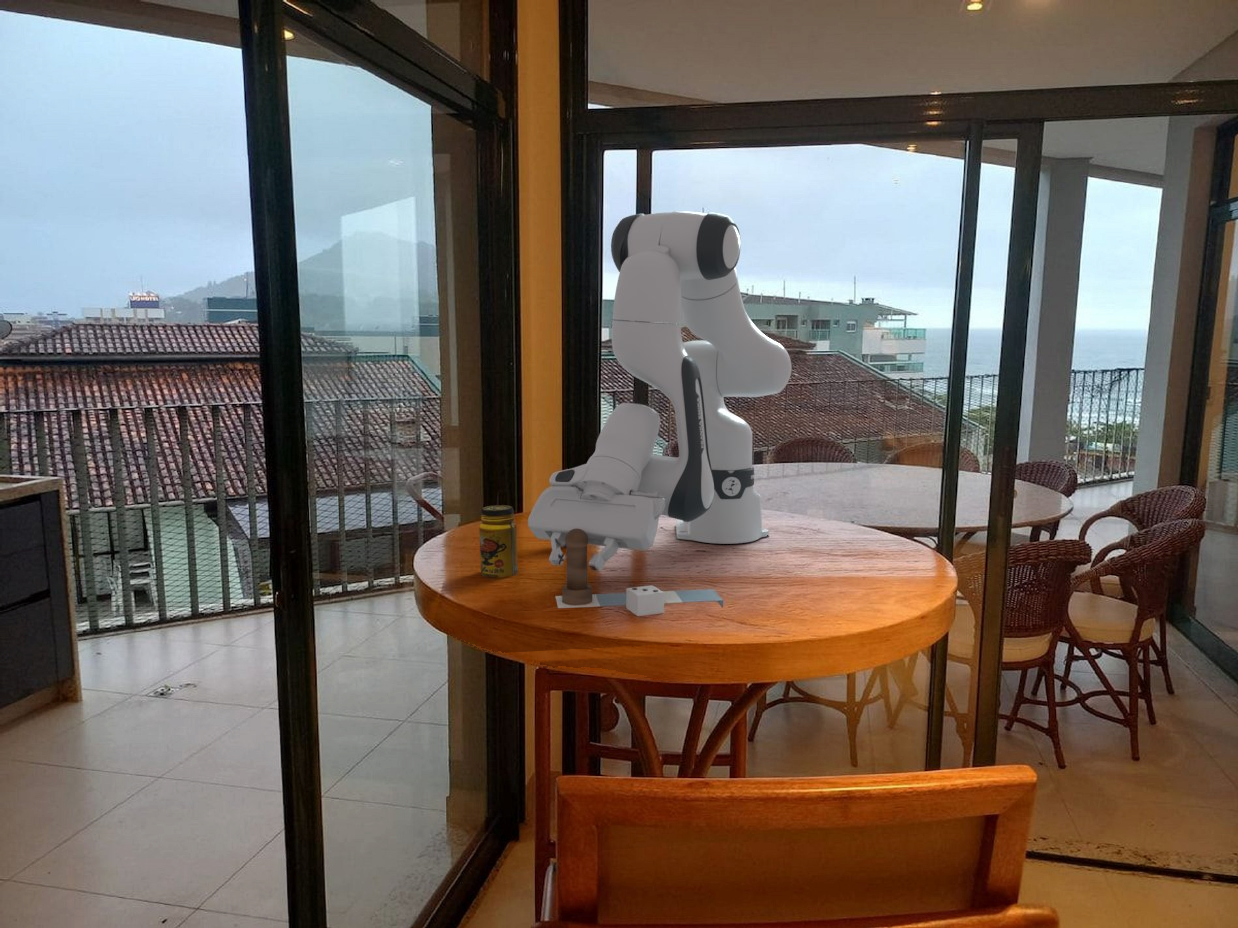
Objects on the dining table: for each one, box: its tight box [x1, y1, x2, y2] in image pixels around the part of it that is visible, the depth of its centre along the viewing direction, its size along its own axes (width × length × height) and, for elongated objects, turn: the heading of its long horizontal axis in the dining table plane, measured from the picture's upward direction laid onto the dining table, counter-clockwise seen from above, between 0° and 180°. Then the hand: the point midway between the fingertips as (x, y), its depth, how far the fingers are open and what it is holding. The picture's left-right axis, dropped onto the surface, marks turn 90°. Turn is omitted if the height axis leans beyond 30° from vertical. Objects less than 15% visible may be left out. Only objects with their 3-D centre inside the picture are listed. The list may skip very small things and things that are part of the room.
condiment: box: [478, 504, 519, 579], centre depth 142 cm, size 7×8×12 cm
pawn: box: [561, 529, 593, 605], centre depth 124 cm, size 4×4×11 cm
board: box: [555, 588, 724, 609], centre depth 126 cm, size 6×24×1 cm, turn 98°
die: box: [625, 584, 665, 617], centre depth 120 cm, size 4×4×4 cm
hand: (574, 565), depth 124 cm, fingers open, 5 cm apart
